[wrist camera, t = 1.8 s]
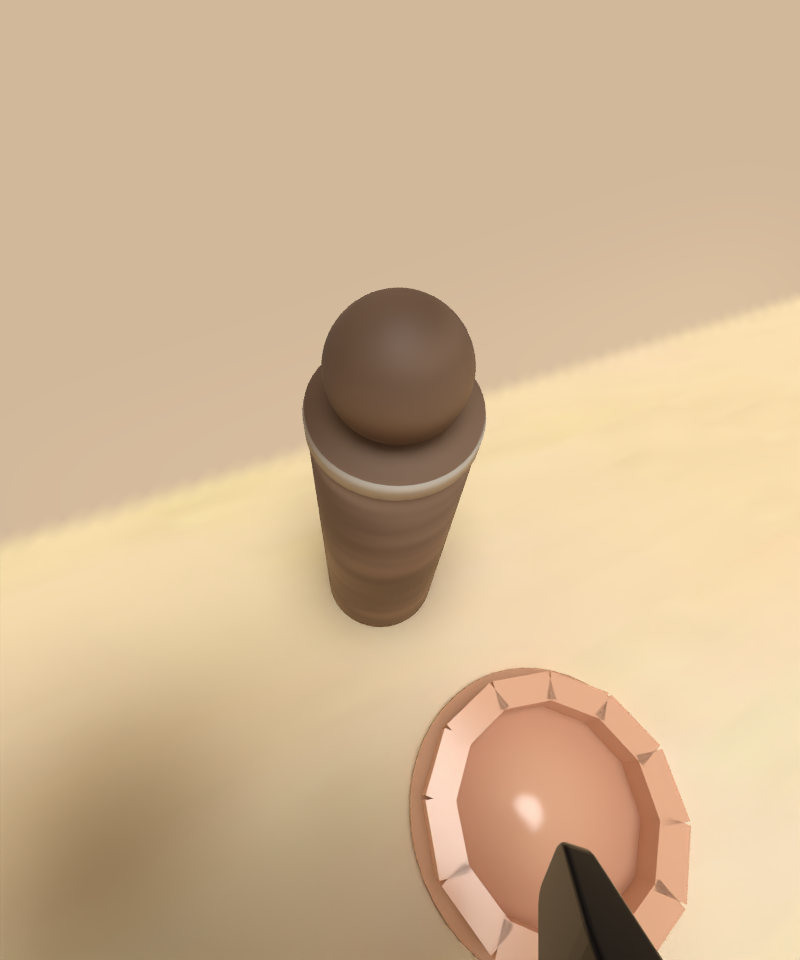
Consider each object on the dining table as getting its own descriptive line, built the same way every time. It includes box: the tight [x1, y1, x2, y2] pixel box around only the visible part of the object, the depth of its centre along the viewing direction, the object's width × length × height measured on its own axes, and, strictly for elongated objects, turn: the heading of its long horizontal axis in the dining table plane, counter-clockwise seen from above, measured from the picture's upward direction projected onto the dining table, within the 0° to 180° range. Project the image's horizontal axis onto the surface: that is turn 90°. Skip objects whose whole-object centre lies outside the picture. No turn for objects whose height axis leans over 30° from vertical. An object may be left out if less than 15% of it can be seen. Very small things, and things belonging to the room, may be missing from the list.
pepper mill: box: [302, 288, 486, 627], centre depth 17 cm, size 4×4×15 cm
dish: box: [410, 668, 691, 960], centre depth 18 cm, size 10×10×2 cm
